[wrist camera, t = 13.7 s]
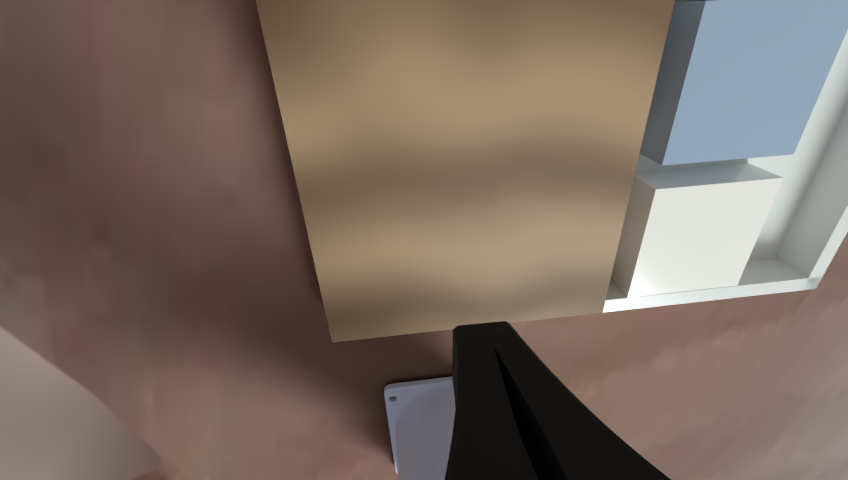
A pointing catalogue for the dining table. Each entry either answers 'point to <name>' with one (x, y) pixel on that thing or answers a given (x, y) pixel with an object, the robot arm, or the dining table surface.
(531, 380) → the robot arm
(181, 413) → the dining table surface
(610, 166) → the board
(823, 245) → the tray
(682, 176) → the tile white
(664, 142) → the tile blue
